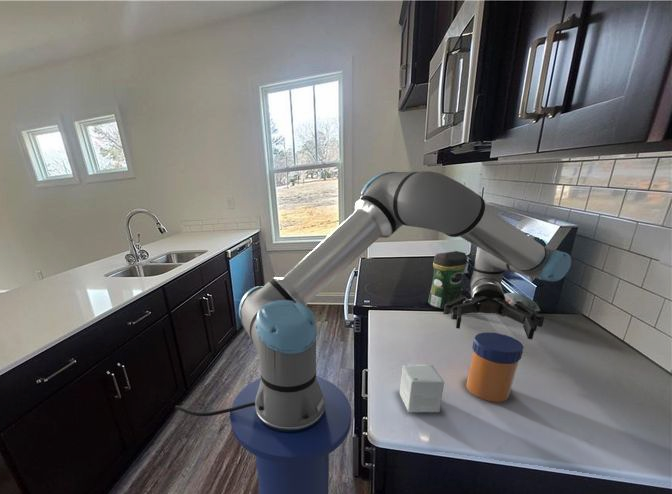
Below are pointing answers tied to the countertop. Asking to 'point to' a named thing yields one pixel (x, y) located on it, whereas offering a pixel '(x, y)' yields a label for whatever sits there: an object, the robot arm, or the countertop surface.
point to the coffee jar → (447, 278)
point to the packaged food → (521, 300)
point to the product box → (421, 388)
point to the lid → (497, 347)
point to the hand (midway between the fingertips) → (493, 328)
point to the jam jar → (490, 379)
